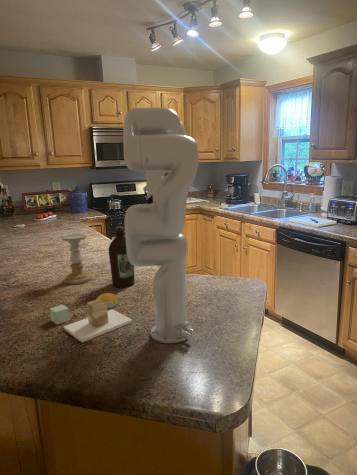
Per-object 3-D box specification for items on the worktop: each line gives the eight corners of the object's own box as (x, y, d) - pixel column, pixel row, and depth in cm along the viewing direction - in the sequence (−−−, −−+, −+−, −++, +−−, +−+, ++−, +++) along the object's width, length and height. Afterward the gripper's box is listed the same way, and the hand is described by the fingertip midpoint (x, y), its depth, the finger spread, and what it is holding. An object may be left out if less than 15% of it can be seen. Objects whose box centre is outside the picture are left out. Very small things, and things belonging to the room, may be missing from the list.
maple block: (108, 322, 113) (106, 302, 112) (96, 327, 110) (94, 306, 109) (100, 318, 116) (99, 298, 115) (88, 323, 113) (86, 303, 112)
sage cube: (69, 320, 118) (68, 308, 117) (56, 325, 115) (55, 312, 114) (63, 316, 121) (62, 304, 120) (51, 320, 118) (49, 308, 117)
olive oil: (107, 283, 153) (102, 227, 148) (129, 278, 159) (125, 223, 153) (117, 290, 144) (112, 230, 139) (140, 284, 150) (136, 227, 144)
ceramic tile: (132, 322, 115) (131, 319, 115) (82, 342, 103) (81, 339, 103) (112, 311, 124) (112, 309, 124) (63, 329, 112) (63, 326, 112)
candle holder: (58, 282, 156) (53, 238, 152) (77, 274, 167) (73, 232, 162) (78, 286, 150) (74, 240, 146) (97, 277, 161) (94, 234, 157)
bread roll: (116, 299, 136) (116, 289, 135) (118, 308, 127) (117, 297, 126) (95, 301, 134) (94, 291, 133) (95, 310, 125) (94, 300, 125)
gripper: (181, 163, 122) (183, 212, 126) (150, 164, 134) (152, 208, 138) (165, 164, 117) (167, 214, 121) (134, 164, 130) (137, 210, 133)
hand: (159, 211), depth 130 cm, fingers open, 9 cm apart
